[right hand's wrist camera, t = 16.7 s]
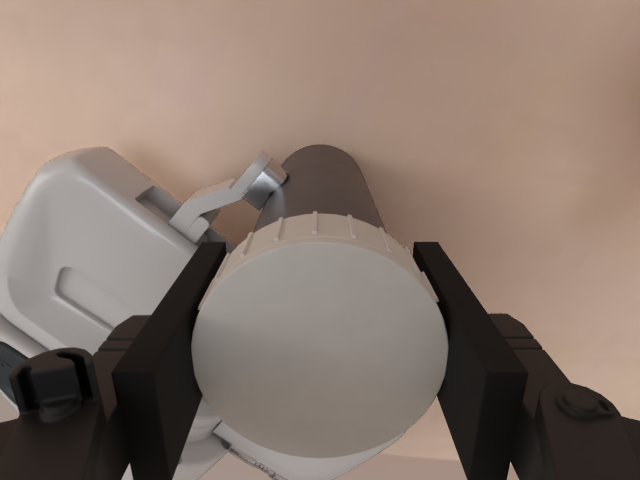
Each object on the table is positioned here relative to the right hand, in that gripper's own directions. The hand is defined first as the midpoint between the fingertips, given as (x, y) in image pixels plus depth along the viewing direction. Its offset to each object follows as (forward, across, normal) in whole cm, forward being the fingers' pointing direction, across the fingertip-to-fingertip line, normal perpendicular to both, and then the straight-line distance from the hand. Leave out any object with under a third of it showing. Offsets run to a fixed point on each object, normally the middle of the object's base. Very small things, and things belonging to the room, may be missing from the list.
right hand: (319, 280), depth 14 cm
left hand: (+5, -1, -1) cm, 5 cm away
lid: (-4, 0, 0) cm, 4 cm away
